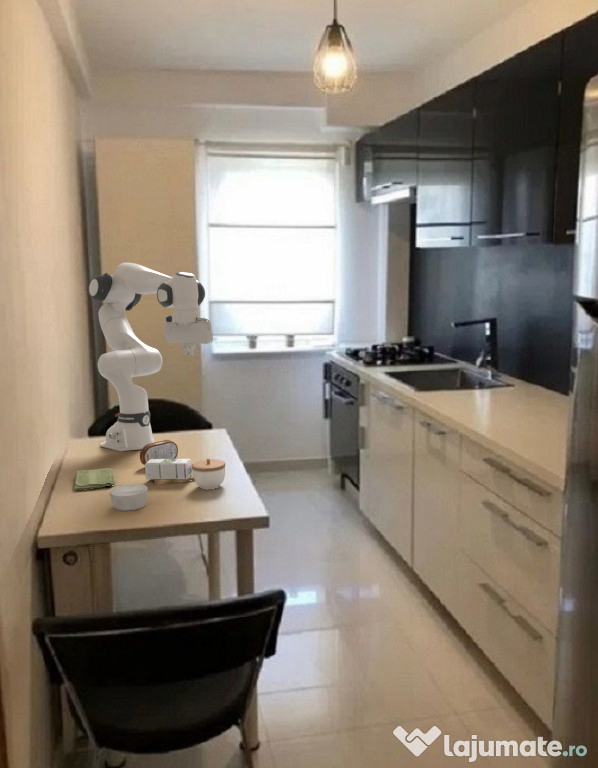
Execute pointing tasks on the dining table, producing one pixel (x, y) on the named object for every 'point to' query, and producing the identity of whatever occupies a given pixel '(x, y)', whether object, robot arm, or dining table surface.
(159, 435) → the dining table surface
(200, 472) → the lidded jar
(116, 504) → the ramekin
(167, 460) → the syrup box
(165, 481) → the cork pad
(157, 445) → the tin
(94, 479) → the washcloth
